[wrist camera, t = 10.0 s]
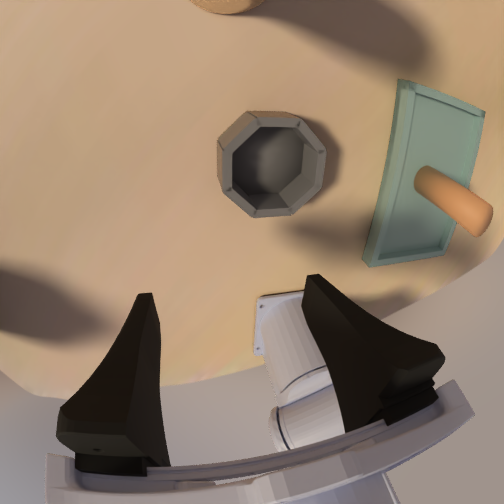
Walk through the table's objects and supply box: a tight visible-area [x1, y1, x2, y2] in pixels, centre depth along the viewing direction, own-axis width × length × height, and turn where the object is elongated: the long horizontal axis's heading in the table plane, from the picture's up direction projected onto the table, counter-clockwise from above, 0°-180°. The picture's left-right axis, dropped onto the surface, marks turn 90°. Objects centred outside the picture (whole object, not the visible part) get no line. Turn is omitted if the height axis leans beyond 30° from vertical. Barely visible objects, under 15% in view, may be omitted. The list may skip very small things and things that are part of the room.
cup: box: [217, 111, 327, 218], centre depth 19 cm, size 7×7×3 cm
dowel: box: [414, 165, 493, 237], centre depth 21 cm, size 3×3×8 cm
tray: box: [362, 79, 485, 267], centre depth 24 cm, size 18×12×2 cm, turn 178°
